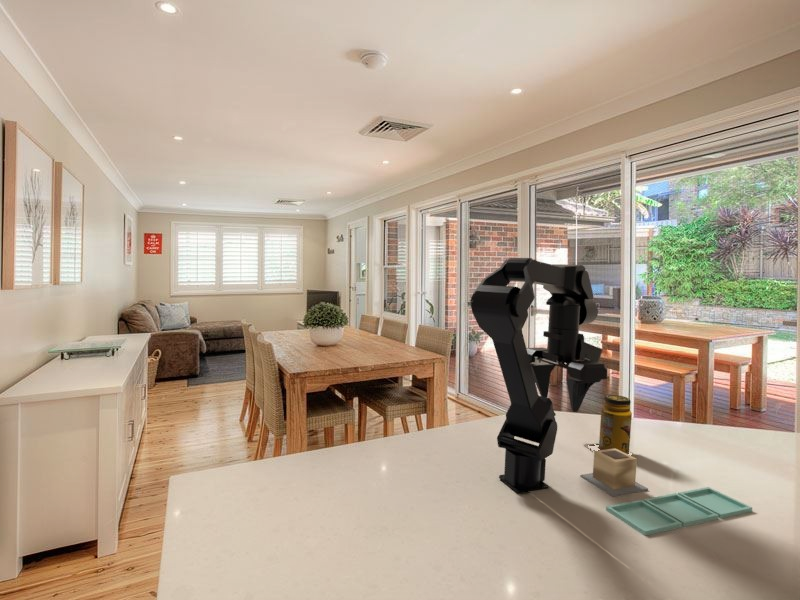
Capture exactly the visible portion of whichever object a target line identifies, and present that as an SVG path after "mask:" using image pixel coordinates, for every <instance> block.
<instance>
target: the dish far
mask: <svg viewBox="0 0 800 600" xmlns="http://www.w3.org/2000/svg"><path fill="white" fill-rule="evenodd" d="M677 494H679V495H681V496H682V497H684V498H686V499H688V500H690V501H692V502H694V503H696V504H698V505H700V506H702V507H704V508H706V509H708V510H710V511H712V512H714V513H715V514H717V515H719V516H718V519H725V518H729V517H733V516H737V515H743V514H745V513H752V512H753V507H752V506H750V505H748V504H745V503H743V502H741V501H739V500H737V499H736V498H733V497H731V496H729V495H726V494H725V493H722V492H720V491H718V490H715V489H714V488H712V487H709V486H706V487H702V488H696V489H690V490H686V491H680V492H678V493H677Z"/></svg>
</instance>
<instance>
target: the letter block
mask: <svg viewBox="0 0 800 600" xmlns="http://www.w3.org/2000/svg"><path fill="white" fill-rule="evenodd" d="M637 462H638V458H636V457H634V456H630V455H628V454H626V453H624V452H622V451H620V450H618V449H616V448H614V449H607V450H599V451H594V453H593V466H592V467H593V469H592V473H593V478H595V479H596V480H598V481H600V482H602V483H603V484H605V485H607V486H608V487H610V488H612V489H613V490H614V489H619V488H625V487H631V486H635V482H636V480H637V479H636V478H637V477H636V476H637Z"/></svg>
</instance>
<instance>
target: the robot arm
mask: <svg viewBox="0 0 800 600" xmlns="http://www.w3.org/2000/svg"><path fill="white" fill-rule="evenodd" d="M511 282H519V283H520V282H521V283H523V285H522V287H518V286H511V285H509V284H510V283H511ZM533 285H540V286H543V287H542V288H543V289H544V290H546V291H547V292H548V293H550V295H551V296H550V297H549V298H548V299H547V300H546V301H545V302H546V303H545V304H546V305H547V306H549V311H548V328H547V329H548V330H546V331H543V337H545V338H547V344H546V345H547V347H543V346H542V347H527V345H526V342H525V336H524V334H523V328H524V326H525V324H526V322H527V319H528V317H529V311H528V310H529V309H530V307H531V305H532V303H533V302H534V300H535V297H536V296H535V292H534V287H533ZM593 300H594V293H593V289H592V284H591V279H590V274H589V272H588V271H587V270H586V267H585V266H584V265H583V264H559V263H557V264H553V263H552V264H550V263H548V262H547V263H546V262H543V261H538V260H536V259H534V258H532V257H509V258H507V259H505V260H504V261H503V262H502V264H501V266H500V267H499V268H497V269H496V270H495V271H493V272H491V273H490V274H488V275H487V276H485V277H484V278H482V280H481V281H480V283H479V285H478V286H477V287H476V288H475V290H474V291H473V293H472V295H471V297H470V307H471V312H472V314H473V317H474V319H475V321H476V323H477V325H478V327H479V328H480V329H481V330H482V331H483V333H485V334H486V335H487V336H488V337H490V339H491V341H492V342H493V346H494V347H493V348H494V350H495V353H496V356H497V360H498V364H499V367H500V371H501V374H502V378H503V380H504V385H505V387H506V388H505V389H506V390H507V394H508V397H509V401H510V405H509V406H508V409H507V411H506V413H505V420H504V422H503V424H502V426H501V429H500V430H499V432H498V435H497V437H496V441H497V446H498V448H500V449H501V448H502V449H505V453H504V454H505V455H504V474H499V476H498V478H499V479H500V480H501V481H502V482H503V483H505V484H506V485H507V486H508V487H510V488H511V490H513V491H514V492H516V493H517V494H524V493H525V494H526V493H530V492H535V491H541V490H548V489H549V488H550V487H549V484H547V482H546V483H545V482H544V481H546V461H547V459H546V458H548V457H550V456H551V455H552V454H553V453H554V447H555V442H556V437H557V435H558V434H557V432H558V422H557V421H556V415H557V414H556V412H555V409H554V404H553V401H552V399H551V397H548V395H549V389H550V379H551V373H552V372H553V371H554V369H555V367H560V368H563V369H566V370H567V374H568V376H569V377H566V385H567V390H568V395H569V397H568V398H569V403H570V408H571V411H572V412H573V413H577V412H579V410H580V407H581V406H582V404H583V401H584V399H585V397H586V394H587V393H588V391H589V389H590V388H591V387H592V386H593V385H594V384H595V383H601V381H602V380H607V379H608V367H607V366H606V365H605V363H602V362H600V359H601V356H602V354H603V351H604V350H603V349H602V348H600V347H597V346H595V345H593V344H590V343H588V342H585V336H584V334H583V333H579V332H580V326H583V325H589V324H592V323H593V322H594V321H595V320H596V319H597V317H598V314H599V310H598V306H597V303H595V302H594V301H593ZM538 392H539V393H538ZM539 394H540V395H539ZM515 437H516V438H519V439H516V438H515ZM520 439H523V440H526V441H529V442H526V441H523V440H520ZM530 442H533V443H536V444H538V445H536V444H533V443H530Z"/></svg>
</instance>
